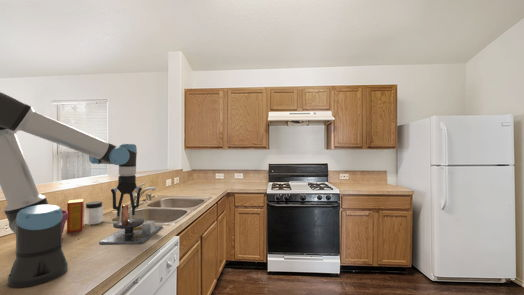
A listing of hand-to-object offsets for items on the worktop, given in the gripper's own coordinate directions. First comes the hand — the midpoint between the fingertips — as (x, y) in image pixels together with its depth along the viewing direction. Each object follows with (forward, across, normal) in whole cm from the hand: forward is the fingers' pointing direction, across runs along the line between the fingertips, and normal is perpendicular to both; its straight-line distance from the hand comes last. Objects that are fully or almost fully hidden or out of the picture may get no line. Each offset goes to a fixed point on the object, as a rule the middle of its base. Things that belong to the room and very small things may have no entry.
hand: (125, 222), depth 118 cm
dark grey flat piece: (+8, -4, -4) cm, 10 cm away
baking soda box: (+9, +26, -28) cm, 39 cm away
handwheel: (+7, -3, -5) cm, 9 cm away
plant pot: (+9, +33, -14) cm, 37 cm away
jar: (+9, +19, -38) cm, 44 cm away
